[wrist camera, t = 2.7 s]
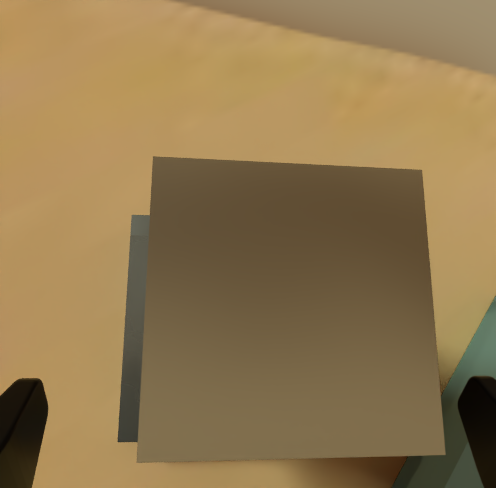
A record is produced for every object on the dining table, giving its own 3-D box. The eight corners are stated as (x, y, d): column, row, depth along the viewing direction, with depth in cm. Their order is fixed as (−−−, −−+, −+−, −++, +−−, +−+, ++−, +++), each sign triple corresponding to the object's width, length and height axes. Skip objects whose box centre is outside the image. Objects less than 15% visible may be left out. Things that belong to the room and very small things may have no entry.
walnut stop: (285, 381, 18) (445, 455, 7) (175, 381, 18) (136, 463, 6) (284, 272, 19) (422, 170, 8) (179, 270, 19) (153, 156, 7)
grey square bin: (329, 426, 18) (346, 437, 16) (126, 430, 17) (117, 442, 15) (323, 233, 20) (337, 222, 18) (138, 227, 19) (131, 214, 17)
